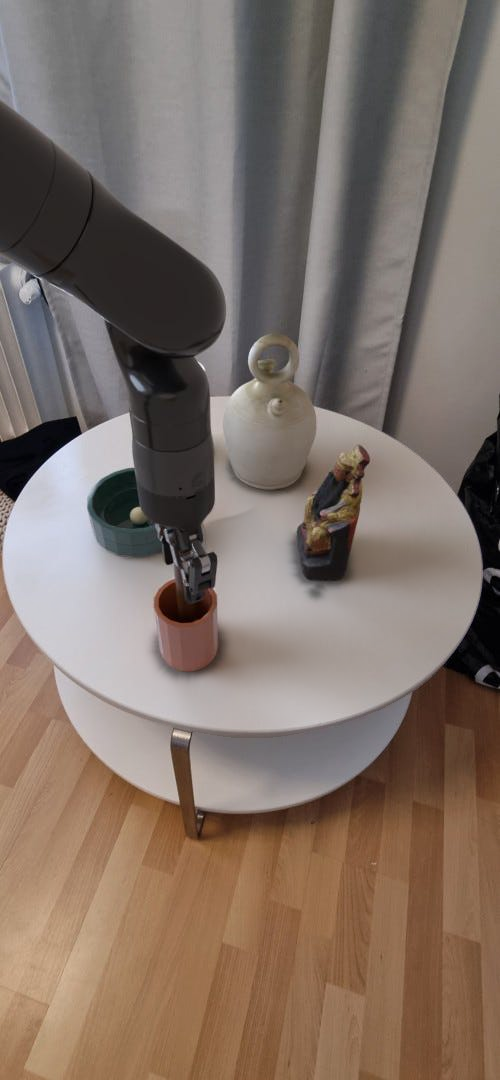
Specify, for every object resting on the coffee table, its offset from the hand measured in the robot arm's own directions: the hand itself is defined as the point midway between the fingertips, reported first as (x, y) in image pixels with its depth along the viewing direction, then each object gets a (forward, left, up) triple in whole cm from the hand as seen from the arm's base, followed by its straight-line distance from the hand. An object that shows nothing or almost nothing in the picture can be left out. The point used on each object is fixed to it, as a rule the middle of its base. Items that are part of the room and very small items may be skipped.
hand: (183, 579), depth 68 cm
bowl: (+2, +24, -14) cm, 28 cm away
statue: (+24, +5, -14) cm, 28 cm away
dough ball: (+2, +24, -12) cm, 27 cm away
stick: (0, 0, -14) cm, 14 cm away
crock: (0, 0, -14) cm, 14 cm away
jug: (+27, +28, -14) cm, 41 cm away
